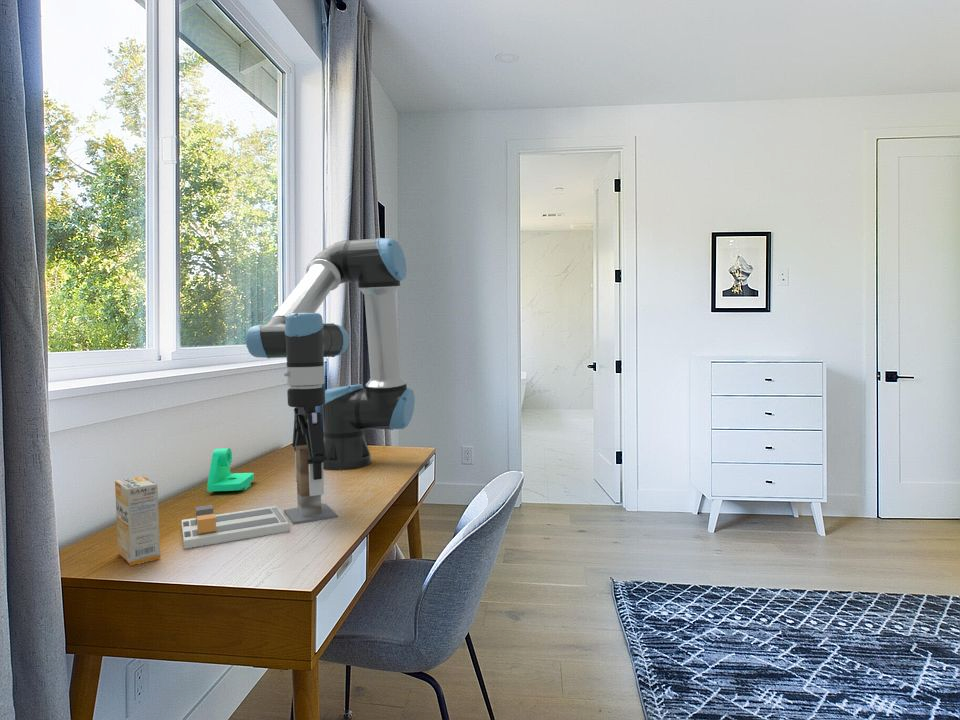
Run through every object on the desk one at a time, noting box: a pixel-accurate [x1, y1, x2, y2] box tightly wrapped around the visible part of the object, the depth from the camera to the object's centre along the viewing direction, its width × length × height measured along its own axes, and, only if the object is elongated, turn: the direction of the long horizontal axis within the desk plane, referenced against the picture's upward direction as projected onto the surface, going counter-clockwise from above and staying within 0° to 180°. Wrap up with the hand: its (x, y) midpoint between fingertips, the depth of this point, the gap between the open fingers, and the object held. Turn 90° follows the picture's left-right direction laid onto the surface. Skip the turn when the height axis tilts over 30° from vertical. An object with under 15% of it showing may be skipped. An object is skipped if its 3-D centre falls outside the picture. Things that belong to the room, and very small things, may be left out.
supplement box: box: [114, 475, 161, 567], centre depth 100 cm, size 8×5×13 cm, turn 45°
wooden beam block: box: [295, 445, 322, 516], centre depth 123 cm, size 4×4×14 cm
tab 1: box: [195, 504, 215, 522], centre depth 115 cm, size 3×3×2 cm
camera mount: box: [206, 447, 255, 492], centre depth 147 cm, size 12×8×10 cm, turn 4°
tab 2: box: [197, 513, 216, 534], centre depth 109 cm, size 3×3×2 cm
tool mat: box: [283, 503, 339, 525], centre depth 123 cm, size 9×10×1 cm
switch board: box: [181, 505, 290, 550], centre depth 114 cm, size 18×14×2 cm
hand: (309, 487), depth 123 cm, fingers open, 13 cm apart
